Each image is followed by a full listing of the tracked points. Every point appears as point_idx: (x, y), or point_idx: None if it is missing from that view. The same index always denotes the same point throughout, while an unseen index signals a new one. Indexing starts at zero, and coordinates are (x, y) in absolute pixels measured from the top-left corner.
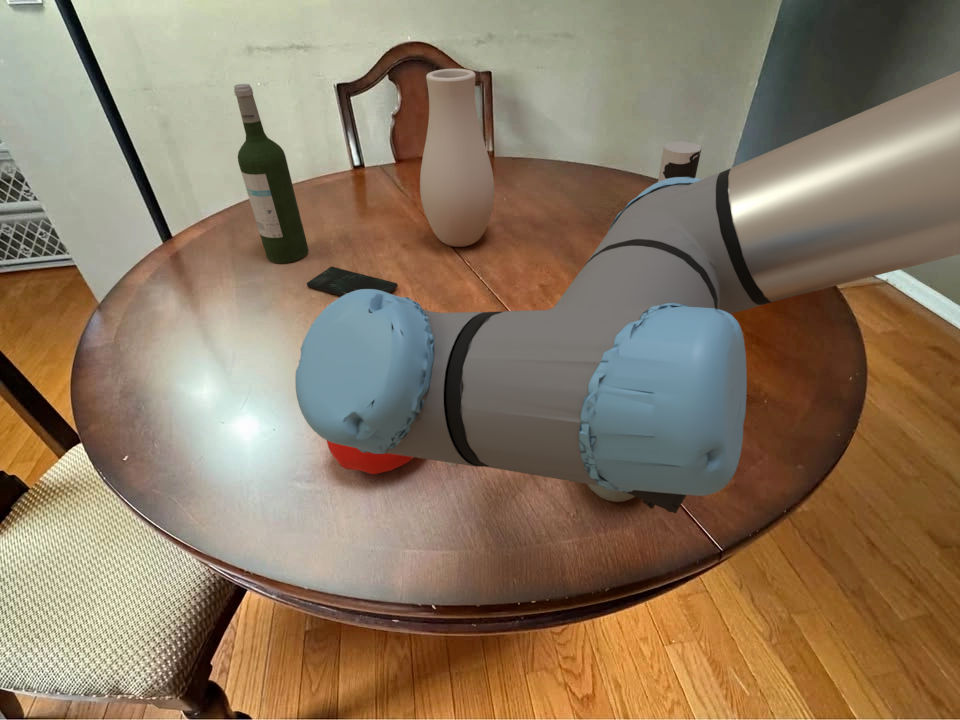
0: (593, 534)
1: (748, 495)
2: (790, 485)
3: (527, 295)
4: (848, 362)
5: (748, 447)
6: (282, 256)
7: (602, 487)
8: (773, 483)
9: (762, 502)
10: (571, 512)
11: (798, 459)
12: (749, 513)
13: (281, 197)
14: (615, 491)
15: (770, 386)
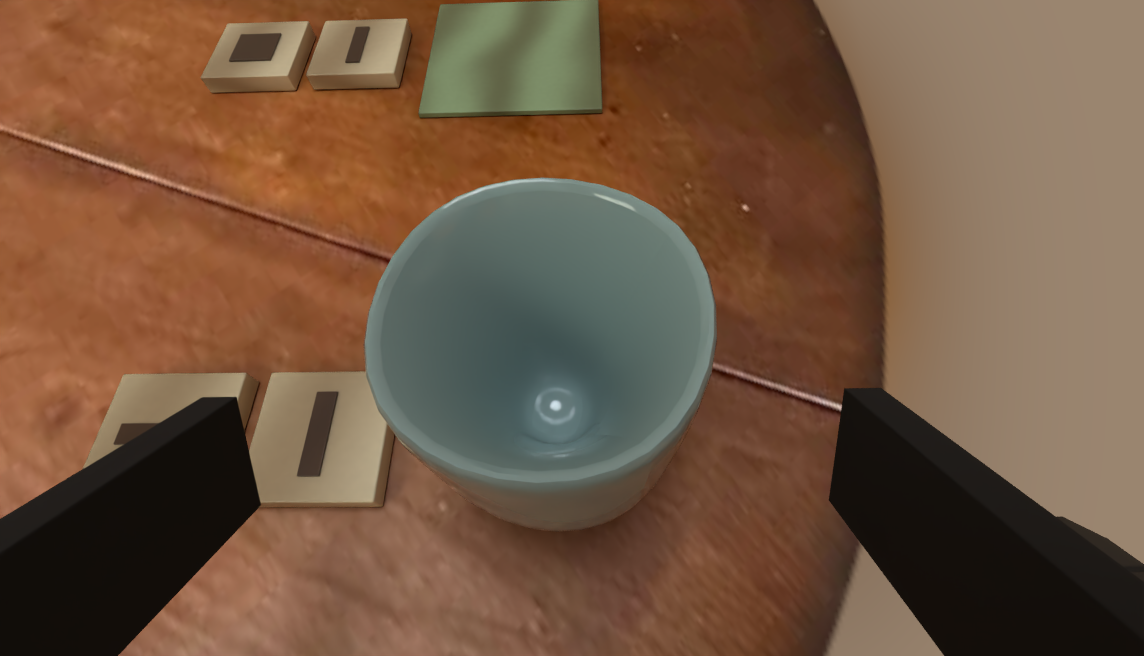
0: (629, 642)
1: (814, 249)
2: (850, 176)
3: (29, 65)
4: None
5: (727, 145)
6: None
7: (582, 529)
8: (825, 192)
9: (846, 247)
10: (529, 621)
11: (815, 115)
12: (850, 289)
13: None
14: (625, 512)
15: (659, 4)
